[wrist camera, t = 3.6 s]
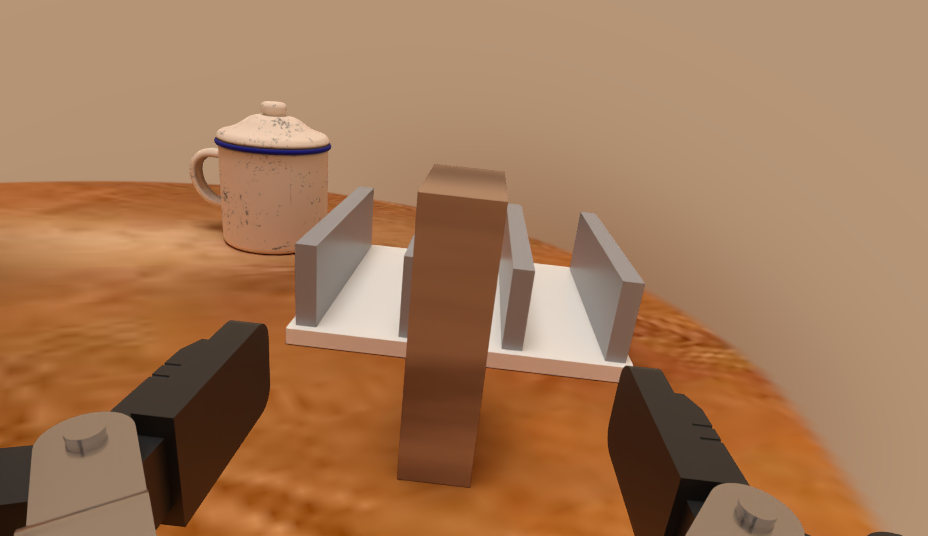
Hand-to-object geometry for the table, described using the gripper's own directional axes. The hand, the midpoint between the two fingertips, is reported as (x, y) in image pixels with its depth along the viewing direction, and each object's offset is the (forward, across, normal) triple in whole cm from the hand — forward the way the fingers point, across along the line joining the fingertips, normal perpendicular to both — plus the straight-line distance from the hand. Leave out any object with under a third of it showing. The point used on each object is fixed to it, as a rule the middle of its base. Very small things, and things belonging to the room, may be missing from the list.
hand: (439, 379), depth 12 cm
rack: (+24, 0, +9) cm, 26 cm away
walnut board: (+10, 0, +9) cm, 14 cm away
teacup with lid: (+34, +18, +9) cm, 40 cm away
